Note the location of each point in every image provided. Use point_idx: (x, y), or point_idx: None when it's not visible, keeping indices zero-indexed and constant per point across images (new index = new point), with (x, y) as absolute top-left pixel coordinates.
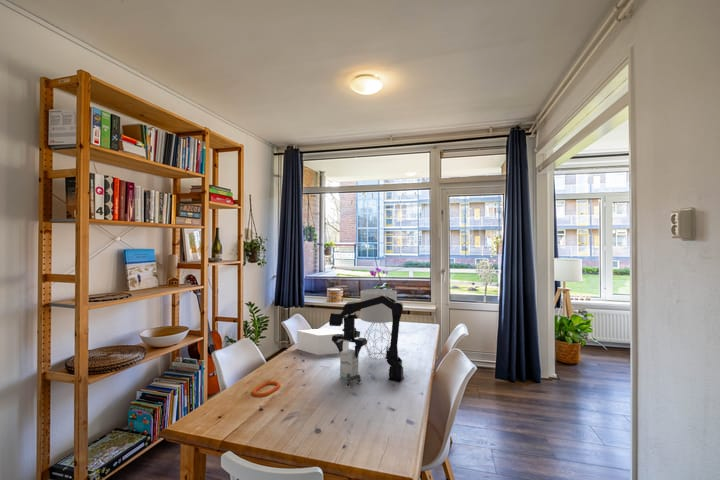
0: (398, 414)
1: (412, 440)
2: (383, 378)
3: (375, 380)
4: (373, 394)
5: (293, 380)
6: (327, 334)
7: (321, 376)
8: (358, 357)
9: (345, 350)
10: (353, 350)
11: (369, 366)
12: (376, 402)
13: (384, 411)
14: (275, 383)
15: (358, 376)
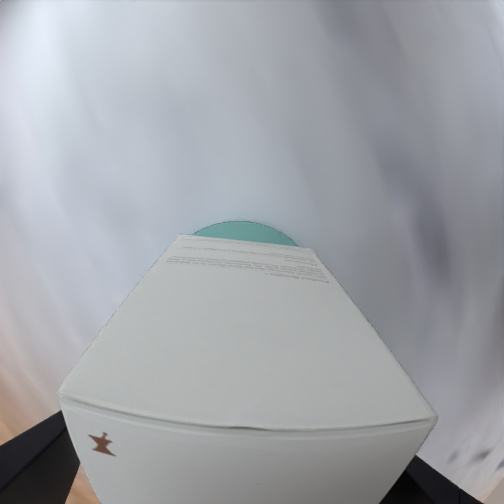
0: (490, 461)
1: (486, 493)
2: (493, 235)
3: (454, 289)
4: (441, 429)
5: (12, 424)
6: None
7: (61, 365)
8: (377, 335)
9: None
10: (315, 483)
11: (332, 14)
12: (445, 460)
13: (460, 474)
14: None
15: None
